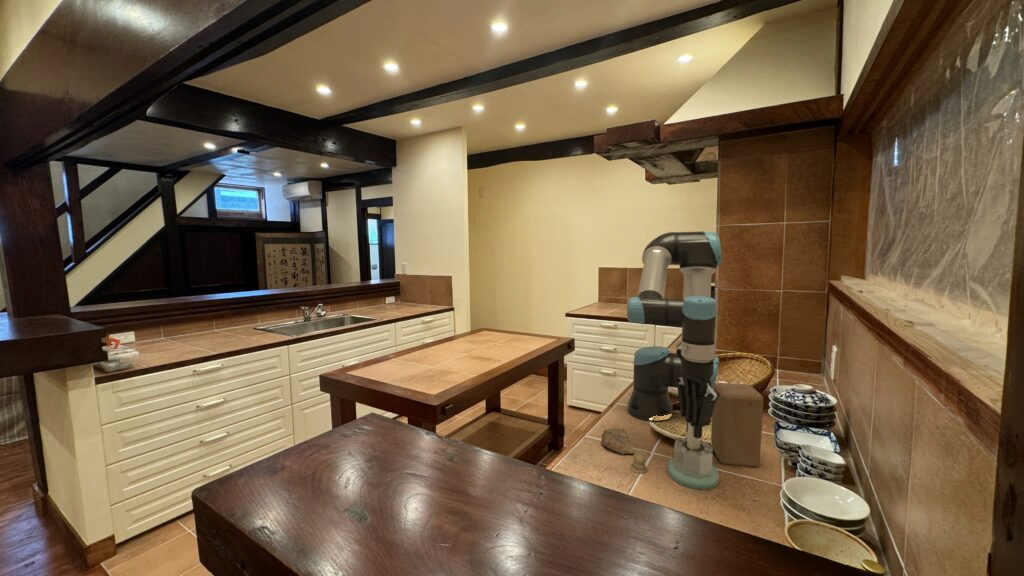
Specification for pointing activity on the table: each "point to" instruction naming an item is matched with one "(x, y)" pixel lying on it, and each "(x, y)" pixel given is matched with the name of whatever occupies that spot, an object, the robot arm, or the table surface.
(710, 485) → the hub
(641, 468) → the stand
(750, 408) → the wooden block
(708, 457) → the collar ring
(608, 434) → the rock
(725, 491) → the table surface
